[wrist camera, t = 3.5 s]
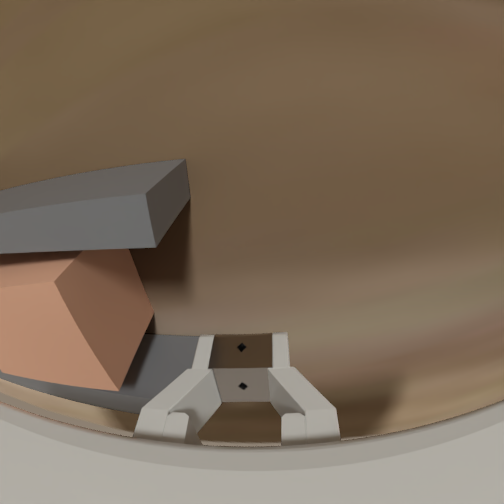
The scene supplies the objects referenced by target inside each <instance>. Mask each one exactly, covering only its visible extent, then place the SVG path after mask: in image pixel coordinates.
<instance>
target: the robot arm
mask: <svg viewBox="0 0 504 504" xmlns="http://www.w3.org/2000/svg"><path fill="white" fill-rule="evenodd" d="M221 402H271V404H272V405H273V407H274V408H275V409H276V411H277V412H278V414H279V415H280V416H281V446H271V447H270V446H267V447H231V446H230V447H229V446H207V445H206V446H205V445H202V443H201V441H200V439H199V437H198V435H197V433H198V432H199V431H200V429H201V428H202V427H203V426H204V425H205V423H206V422H207V421H208V420H209V419H210V417H211V416H212V415H213V414H214V412H215V411H216V410H217V409H218V408H219V406H220V405H221V404H222V403H221ZM0 504H504V400H502V401H499V402H497V403H494V404H491V405H489V406H486V407H483V408H480V409H477V410H475V411H472V412H469V413H466V414H462V415H459V416H456V417H453V418H449V419H446V420H442V421H439V422H435V423H432V424H428V425H424V426H420V427H416V428H411V429H407V430H402V431H398V432H393V433H388V434H383V435H377V436H371V437H365V438H359V439H352V440H345V441H341V438H340V431H339V424H338V418H337V411H336V408H335V407H334V406H333V405H332V404H331V403H330V402H329V401H328V400H327V399H326V398H325V397H324V396H323V395H322V394H321V393H320V392H319V391H318V390H317V389H316V388H315V387H314V386H313V385H312V384H311V383H310V382H309V381H308V380H307V379H306V378H305V377H304V376H303V375H302V374H301V373H300V372H299V371H298V370H297V369H296V368H295V367H290V360H289V345H288V333H287V332H277V333H273V334H272V333H262V334H238V335H218V334H215V335H201V336H200V337H199V340H198V344H197V348H196V352H195V356H194V360H193V365H192V369H187V370H185V371H184V372H183V373H182V374H181V375H180V376H179V377H177V378H176V379H175V380H174V381H173V382H172V383H171V384H169V385H168V386H167V387H166V388H165V389H164V390H162V391H161V392H160V393H159V394H158V395H157V396H155V397H154V398H153V399H152V400H151V401H149V402H148V403H147V404H146V405H145V406H144V407H142V409H141V412H140V415H139V418H138V422H137V425H136V428H135V431H134V434H133V437H127V436H122V435H116V434H111V433H106V432H101V431H96V430H92V429H88V428H83V427H79V426H75V425H71V424H68V423H64V422H60V421H56V420H53V419H50V418H46V417H43V416H40V415H36V414H34V413H31V412H28V411H25V410H22V409H19V408H16V407H13V406H11V405H8V404H6V403H3V402H0Z"/></svg>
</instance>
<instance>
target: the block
mask: <svg viewBox="0 0 504 504" xmlns="http://www.w3.org/2000/svg"><path fill="white" fill-rule="evenodd" d="M153 314H154V311H153V309H152V306H151V304H150V301H149V299H148V297H147V294H146V292H145V289H144V287H143V284H142V282H141V279H140V277H139V274H138V272H137V269H136V267H135V264H134V262H133V259H132V256H131V254H130V251H129V248H128V249H101V250H75V251H50V252H27V253H4V254H0V370H1V371H2V373H6V374H11V375H15V376H20V377H25V378H30V379H35V380H40V381H46V382H51V383H57V384H64V385H70V386H78V387H85V388H93V389H102V390H112V391H119V390H120V388H121V386H122V383H123V381H124V379H125V376H126V374H127V372H128V369H129V367H130V365H131V362H132V360H133V358H134V356H135V353H136V351H137V349H138V347H139V344H140V342H141V340H142V338H143V336H144V333H145V331H146V329H147V327H148V325H149V322H150V320H151V318H152V316H153Z"/></svg>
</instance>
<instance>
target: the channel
mask: <svg viewBox="0 0 504 504" xmlns="http://www.w3.org/2000/svg"><path fill="white" fill-rule="evenodd" d="M189 199H190V191H189V183H188V175H187V168H186V159H179V160H170V161H161V162H153V163H144V164H137V165H130V166H122V167H116V168H109V169H103V170H97V171H91V172H85V173H79V174H74V175H69V176H64V177H58V178H54V179H49V180H44V181H39V182H35V183H30V184H26V185H22V186H17V187H13V188H9V189H5V190H1V191H0V254H4V253H27V252H50V251H75V250H101V249H128V248H156V247H157V245H158V244H159V242H160V241H161V239H162V238H163V236H164V235H165V233H166V232H167V230H168V229H169V228H170V226H171V225H172V223H173V222H174V220H175V219H176V217H177V216H178V214H179V213H180V212H181V210H182V209H183V207H184V206H185V205H186V203H187V202H188V200H189ZM199 337H200V336H173V335H154V334H144V336H143V338H142V340H141V342H140V344H139V347H138V349H137V351H136V353H135V356H134V358H133V360H132V362H131V365H130V367H129V369H128V372H127V374H126V376H125V379H124V381H123V383H122V386H121V388H120V390H119V391H112V390H102V389H93V388H85V387H78V386H70V385H64V384H57V383H51V382H46V381H40V380H35V379H30V378H25V377H20V376H15V375H11V374H6V373H2V371H1V370H0V378H1V379H4V380H7V381H9V382H12V383H15V384H18V385H21V386H24V387H27V388H30V389H33V390H37V391H40V392H43V393H47V394H50V395H54V396H57V397H61V398H65V399H68V400H72V401H76V402H81V403H85V404H89V405H94V406H98V407H103V408H108V409H113V410H118V411H124V412H130V413H136V414H140V412H141V409H142V407H144V406H145V405H146V404H147V403H148V402H149V401H151V400H152V399H153V398H154V397H155V396H157V395H158V394H159V393H160V392H161V391H162V390H164V389H165V388H166V387H167V386H168V385H169V384H171V383H172V382H173V381H174V380H175V379H176V378H177V377H179V376H180V375H181V374H182V373H183V372H184V371H185V370H187V369H192V365H193V360H194V356H195V352H196V348H197V344H198V340H199Z"/></svg>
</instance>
